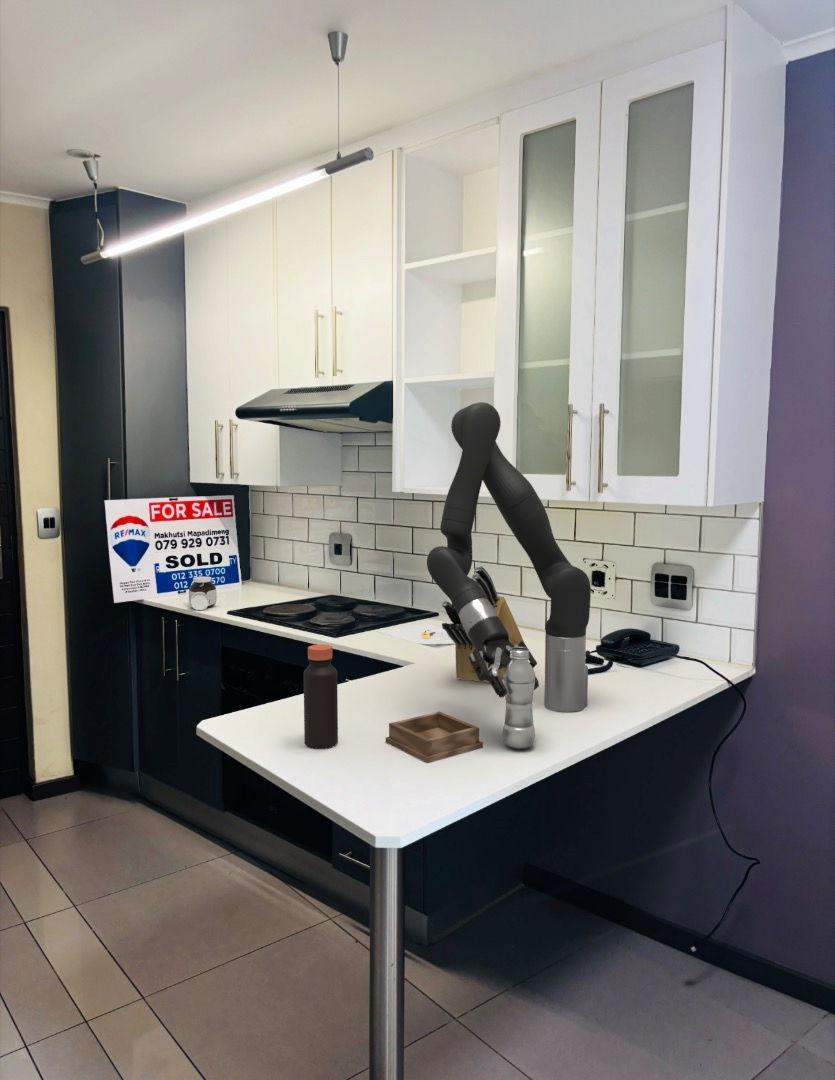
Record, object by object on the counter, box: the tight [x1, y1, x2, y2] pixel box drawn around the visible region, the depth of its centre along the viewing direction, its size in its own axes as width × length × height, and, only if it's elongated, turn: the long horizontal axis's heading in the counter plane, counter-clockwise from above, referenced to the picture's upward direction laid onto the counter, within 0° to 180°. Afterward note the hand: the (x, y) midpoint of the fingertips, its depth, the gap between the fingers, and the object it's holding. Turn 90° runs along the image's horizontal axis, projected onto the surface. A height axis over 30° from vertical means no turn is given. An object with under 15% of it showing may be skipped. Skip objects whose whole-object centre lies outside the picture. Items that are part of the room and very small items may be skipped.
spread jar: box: [188, 576, 218, 611], centre depth 311 cm, size 12×11×12 cm
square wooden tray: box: [385, 711, 484, 764], centre depth 162 cm, size 14×14×4 cm
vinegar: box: [303, 644, 339, 750], centre depth 162 cm, size 7×7×20 cm
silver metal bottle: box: [501, 647, 537, 750], centre depth 161 cm, size 6×7×20 cm
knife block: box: [441, 565, 525, 685], centre depth 214 cm, size 11×35×31 cm, turn 152°
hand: (520, 691), depth 160 cm, fingers open, 8 cm apart
